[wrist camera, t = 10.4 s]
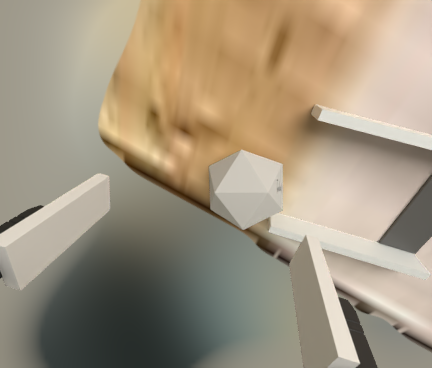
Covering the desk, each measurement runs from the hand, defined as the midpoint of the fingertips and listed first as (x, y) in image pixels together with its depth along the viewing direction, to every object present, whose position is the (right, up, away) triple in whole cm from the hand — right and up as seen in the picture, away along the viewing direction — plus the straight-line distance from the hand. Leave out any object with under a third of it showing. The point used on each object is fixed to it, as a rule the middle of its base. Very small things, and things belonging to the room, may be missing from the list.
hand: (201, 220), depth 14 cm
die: (+5, +4, +14) cm, 15 cm away
